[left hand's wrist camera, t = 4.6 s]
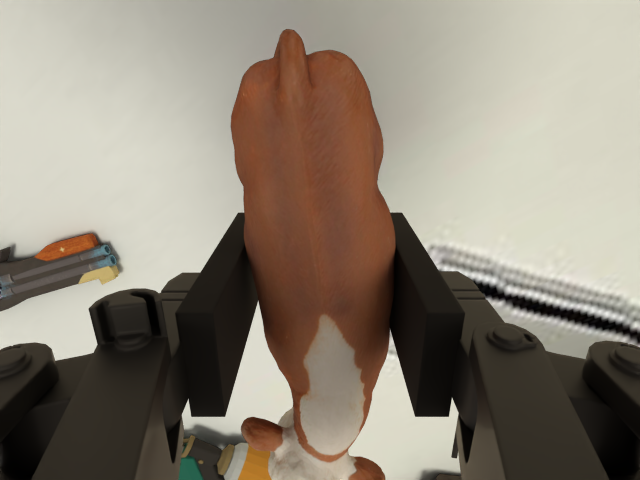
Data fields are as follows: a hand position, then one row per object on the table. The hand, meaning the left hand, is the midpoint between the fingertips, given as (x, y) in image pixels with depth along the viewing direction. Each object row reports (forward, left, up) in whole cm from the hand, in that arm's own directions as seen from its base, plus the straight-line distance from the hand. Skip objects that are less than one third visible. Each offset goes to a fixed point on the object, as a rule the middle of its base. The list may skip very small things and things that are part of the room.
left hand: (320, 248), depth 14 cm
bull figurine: (0, 0, -2) cm, 2 cm away
